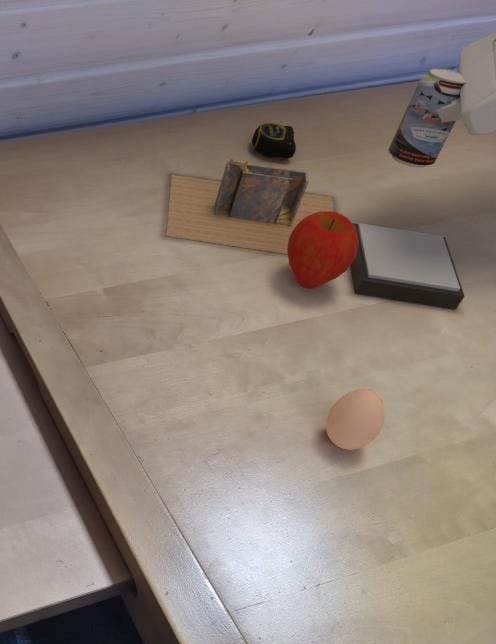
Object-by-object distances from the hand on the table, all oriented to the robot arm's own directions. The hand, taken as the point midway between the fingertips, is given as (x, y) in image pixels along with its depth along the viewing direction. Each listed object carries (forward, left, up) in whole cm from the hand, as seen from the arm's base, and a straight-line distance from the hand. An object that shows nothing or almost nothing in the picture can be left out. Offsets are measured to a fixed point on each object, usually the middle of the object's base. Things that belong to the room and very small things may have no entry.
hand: (424, 110), depth 94 cm
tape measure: (+13, -17, -19) cm, 29 cm away
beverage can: (-1, +1, -7) cm, 7 cm away
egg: (+8, +44, -19) cm, 48 cm away
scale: (-3, +11, -18) cm, 21 cm away
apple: (+10, +17, -19) cm, 27 cm away
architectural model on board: (+17, +3, -19) cm, 26 cm away
